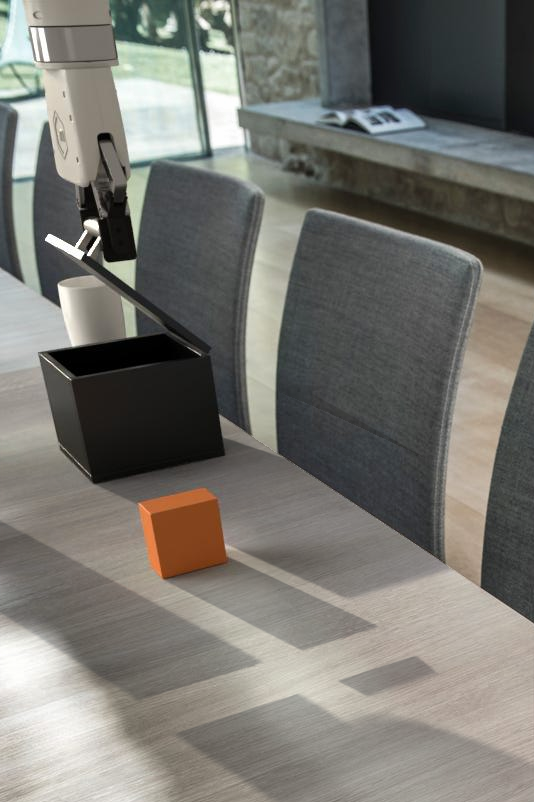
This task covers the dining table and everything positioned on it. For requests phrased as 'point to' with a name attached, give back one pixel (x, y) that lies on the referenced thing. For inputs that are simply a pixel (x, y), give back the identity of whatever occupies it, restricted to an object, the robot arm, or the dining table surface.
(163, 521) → the orange block
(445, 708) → the dining table surface
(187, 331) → the bin lid
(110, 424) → the bin
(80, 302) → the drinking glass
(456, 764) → the dining table surface
